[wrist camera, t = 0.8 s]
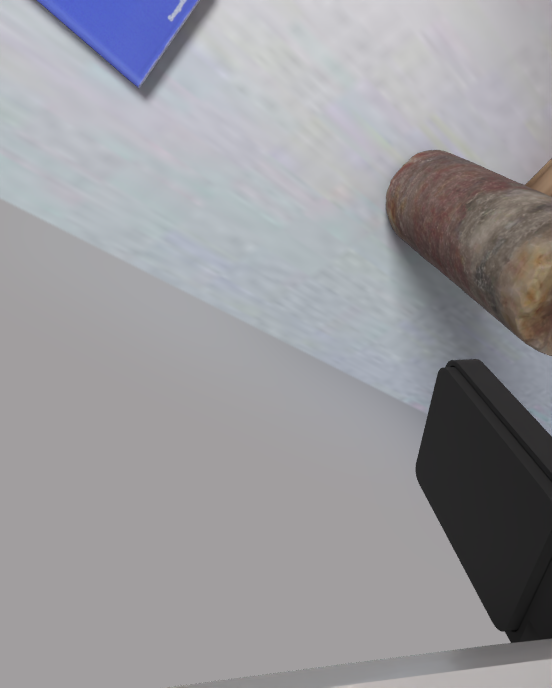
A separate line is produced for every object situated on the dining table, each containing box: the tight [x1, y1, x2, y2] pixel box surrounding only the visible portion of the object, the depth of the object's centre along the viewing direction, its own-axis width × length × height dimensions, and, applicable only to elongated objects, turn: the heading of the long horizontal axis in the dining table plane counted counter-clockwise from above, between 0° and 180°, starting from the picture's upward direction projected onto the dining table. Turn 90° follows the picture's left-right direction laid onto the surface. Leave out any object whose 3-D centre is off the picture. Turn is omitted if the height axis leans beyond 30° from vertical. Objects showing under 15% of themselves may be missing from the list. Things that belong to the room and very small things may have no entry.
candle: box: [386, 150, 552, 356], centre depth 33 cm, size 8×7×20 cm
